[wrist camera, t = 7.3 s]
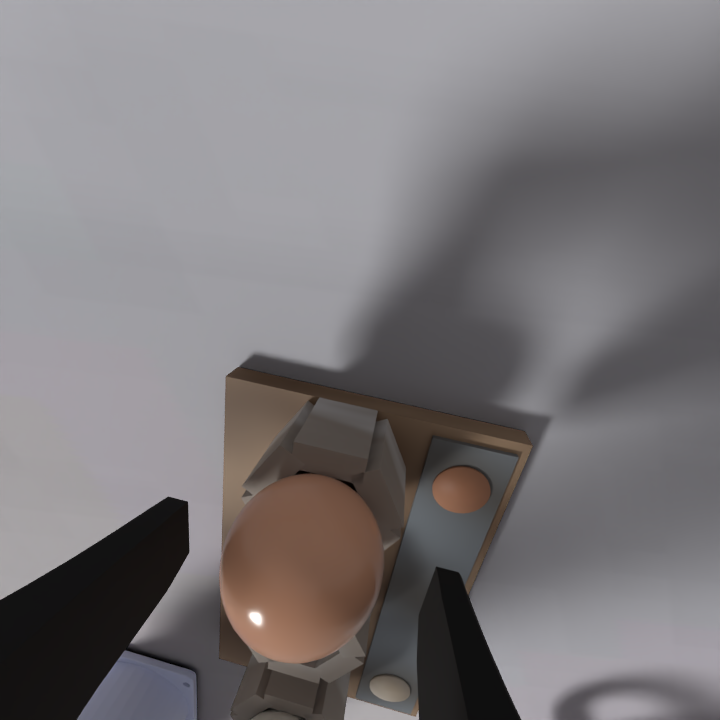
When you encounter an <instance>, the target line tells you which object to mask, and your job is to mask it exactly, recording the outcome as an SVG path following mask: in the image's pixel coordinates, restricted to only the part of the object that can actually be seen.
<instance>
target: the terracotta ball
mask: <svg viewBox="0 0 720 720" xmlns="http://www.w3.org/2000/svg"><path fill="white" fill-rule="evenodd" d="M383 573H384V548H383V542H382V536H381V533H380V530H379V527H378V524H377V521H376V519H375V517H374V515H373V513H372V511H371V510H370V508H369V506H368V505H367V504H366V502H365V501H364V500H363V499H362V498H361V497H360V496H359V494H358V493H357V492H355V491H354V490H353V489H352V488H350V487H349V486H348V485H346V484H344V483H342V482H341V481H339V480H336V479H334V478H331V477H328V476H324V475H319V474H298V475H293V476H289V477H286V478H282V479H280V480H278V481H276V482H274V483H272V484H270V485H268V486H267V487H265V488H264V489H262V490H261V491H260V492H258V493H257V494H256V495H255V496H254V497H253V498H252V499H251V500H250V501H249V502H248V503H247V504H246V505H245V506H244V507H243V509H242V510H241V511H240V513H239V514H238V516H237V517H236V519H235V521H234V522H233V524H232V526H231V528H230V530H229V532H228V535H227V538H226V540H225V543H224V547H223V550H222V555H221V560H220V571H219V583H220V593H221V598H222V602H223V606H224V609H225V612H226V615H227V617H228V619H229V621H230V623H231V625H232V627H233V629H234V630H235V632H236V633H237V634H238V635H239V637H240V638H241V639H242V640H243V641H244V642H245V643H246V644H247V645H248V646H249V647H250V648H251V649H253V650H254V651H255V652H257V653H259V654H261V655H262V656H264V657H267V658H269V659H271V660H275V661H278V662H283V663H292V664H300V663H307V662H311V661H315V660H319V659H322V658H324V657H326V656H328V655H330V654H332V653H334V652H336V651H338V650H339V649H340V648H341V647H343V646H344V645H345V644H347V643H348V642H349V641H350V640H351V639H352V638H353V637H354V636H355V635H356V634H357V633H358V632H359V630H360V629H361V628H362V627H363V625H364V624H365V622H366V621H367V619H368V617H369V616H370V614H371V613H372V610H373V608H374V606H375V604H376V601H377V599H378V596H379V593H380V589H381V585H382V580H383Z"/></svg>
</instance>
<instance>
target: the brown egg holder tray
mask: <svg viewBox="0 0 720 720" xmlns="http://www.w3.org/2000/svg"><path fill="white" fill-rule="evenodd" d="M532 447H533V445H532V443H531V442H530V440H529V438H528V436H527V434H526V433H525V431H521V430H517V429H513V428H508V427H504V426H499V425H495V424H490V423H486V422H481V421H477V420H472V419H468V418H463V417H459V416H454V415H450V414H446V413H441V412H437V411H432V410H428V409H423V408H419V407H414V406H410V405H405V404H401V403H396V402H392V401H387V400H383V399H379V398H374V397H370V396H365V395H361V394H356V393H352V392H347V391H343V390H338V389H334V388H329V387H325V386H320V385H316V384H311V383H307V382H303V381H298V380H294V379H289V378H285V377H280V376H276V375H271V374H267V373H262V372H258V371H253V370H249V369H244V368H240V367H237V368H236V369H235V370H233V371H232V372H231V373H230V374H228V375H227V376H226V391H225V433H224V476H223V518H222V550H223V547H224V543H225V540H226V538H227V535H228V532H229V530H230V528H231V526H232V524H233V522H234V521H235V519H236V517H237V516H238V514H239V513H240V511H241V510H242V509H243V507H244V506H245V505H246V504H247V503H248V502H249V501H250V500H251V499H252V498H253V497H254V496H255V495H256V494H257V493H258V492H260V491H261V490H262V489H264V488H265V487H267V486H268V485H270V484H272V483H274V482H276V481H278V480H280V479H282V478H286V477H289V476H293V475H298V474H319V475H324V476H328V477H331V478H334V479H336V480H339V481H341V482H342V483H344V484H346V485H348V486H349V487H350V488H352V489H353V490H354V491H355V492H357V493H358V494H359V496H360V497H361V498H362V499H363V500H364V501H365V502H366V504H367V505H368V506H369V508H370V510H371V511H372V513H373V515H374V517H375V519H376V521H377V524H378V527H379V530H380V533H381V536H382V542H383V548H384V573H383V580H382V585H381V589H380V593H379V596H378V599H377V601H376V604H375V606H374V608H373V610H372V613H371V614H370V616H369V617H368V619H367V621H366V622H365V624H364V625H363V627H362V628H361V629H360V630H359V632H358V633H357V634H356V635H355V636H354V637H353V638H352V639H351V640H350V641H349V642H348V643H347V644H345V645H344V646H343V647H341V648H340V649H339V650H338V651H336V652H334V653H332V654H330V655H328V656H326V657H324V658H322V659H319V660H315V661H311V662H307V663H300V664H292V663H283V662H278V661H275V660H271V659H269V658H267V657H264V656H262V655H261V654H259V653H257V652H255V651H254V650H253V649H251V648H250V647H249V646H248V645H247V644H246V643H245V642H244V641H243V640H242V639H241V638H240V637H239V635H238V634H237V633H236V632H235V630H234V629H233V627H232V625H231V623H230V621H229V619H228V617H227V615H226V612H225V609H224V606H223V602H222V598H221V602H220V645H219V659H223V660H226V661H229V662H233V663H236V664H239V665H243V666H246V667H247V669H246V671H245V674H244V677H243V679H242V682H241V684H240V687H239V690H238V692H237V695H236V697H235V700H234V703H233V705H232V708H231V711H232V712H231V715H230V716H231V717H232V718H233V720H251V719H252V718H253V717H255V716H256V715H257V714H259V713H261V712H263V711H265V710H268V709H271V708H273V709H276V710H279V711H283V712H286V713H289V714H292V715H296V716H299V717H302V718H304V719H305V720H344V714H345V707H346V700H347V697H351V698H354V699H357V700H361V701H364V702H368V703H371V704H374V705H378V706H381V707H384V708H388V709H391V710H394V711H398V712H401V713H405V714H408V715H411V716H415V717H416V714H417V712H418V710H419V705H418V683H417V638H418V617H419V612H420V609H421V607H422V604H423V601H424V598H425V596H426V593H427V590H428V587H429V585H430V582H431V579H432V576H433V574H434V571H435V568H436V566H437V567H441V568H444V569H448V570H452V571H456V572H459V573H460V575H461V577H462V579H463V582H464V585H465V588H466V591H467V593H468V594H469V592H470V590H471V588H472V585H473V583H474V581H475V578H476V576H477V574H478V571H479V569H480V567H481V564H482V562H483V560H484V558H485V555H486V553H487V551H488V548H489V546H490V544H491V541H492V539H493V537H494V534H495V532H496V530H497V528H498V525H499V523H500V521H501V518H502V516H503V514H504V511H505V509H506V507H507V505H508V502H509V500H510V498H511V495H512V493H513V491H514V488H515V486H516V484H517V481H518V479H519V477H520V475H521V472H522V470H523V468H524V465H525V463H526V461H527V458H528V456H529V454H530V452H531V449H532Z"/></svg>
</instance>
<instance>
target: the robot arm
mask: <svg viewBox="0 0 720 720" xmlns="http://www.w3.org/2000/svg"><path fill="white" fill-rule="evenodd" d="M188 554H189V522H188V502H187V501H183V500H179V499H175V498H171V497H167V498H165V499H164V500H162V501H161V502H159V503H158V504H156V505H154V506H153V507H151V508H150V509H148V510H147V511H145V512H144V513H142V514H141V515H139V516H138V517H136V518H135V519H133V520H131V521H130V522H128V523H127V524H125V525H124V526H122V527H121V528H119V529H118V530H116V531H115V532H113V533H111V534H110V535H108V536H107V537H105V538H104V539H102V540H100V541H99V542H97V543H96V544H94V545H92V546H91V547H89V548H88V549H86V550H85V551H83V552H81V553H80V554H78V555H77V556H75V557H73V558H72V559H70V560H68V561H67V562H65V563H63V564H62V565H60V566H58V567H57V568H55V569H53V570H52V571H50V572H48V573H46V574H45V575H43V576H41V577H40V578H38V579H36V580H35V581H33V582H31V583H30V584H28V585H26V586H24V587H23V588H21V589H19V590H17V591H16V592H14V593H12V594H10V595H8V596H7V597H5V598H3V599H1V600H0V720H197V683H196V674H195V672H193V671H192V670H189V669H186V668H183V667H179V666H176V665H173V664H169V663H166V662H163V661H159V660H156V659H153V658H149V657H146V656H143V655H140V654H136V653H133V652H130V651H126V650H125V649H126V648H127V646H128V645H129V644H130V642H131V641H132V639H133V638H134V637H135V635H136V634H137V633H138V631H139V630H140V628H141V627H142V626H143V624H144V623H145V621H146V620H147V619H148V617H149V616H150V614H151V613H152V611H153V610H154V609H155V607H156V606H157V604H158V603H159V602H160V600H161V599H162V597H163V596H164V594H165V593H166V592H167V590H168V588H169V587H170V585H171V583H172V582H173V580H174V578H175V577H176V575H177V573H178V571H179V570H180V568H181V566H182V564H183V562H184V561H185V559H186V557H187V555H188ZM417 683H418V705H419V720H521V718H520V716H519V714H518V712H517V710H516V708H515V706H514V704H513V701H512V699H511V697H510V695H509V693H508V691H507V688H506V686H505V684H504V682H503V679H502V677H501V675H500V672H499V670H498V668H497V666H496V663H495V661H494V659H493V656H492V654H491V652H490V649H489V647H488V645H487V642H486V640H485V637H484V635H483V632H482V630H481V627H480V625H479V622H478V620H477V617H476V615H475V612H474V609H473V607H472V604H471V602H470V599H469V596H468V593H467V591H466V588H465V585H464V582H463V579H462V577H461V575H460V573H459V572H456V571H452V570H448V569H444V568H441V567H437V566H436V568H435V571H434V574H433V576H432V579H431V582H430V585H429V587H428V590H427V593H426V596H425V598H424V601H423V604H422V607H421V609H420V612H419V617H418V638H417Z"/></svg>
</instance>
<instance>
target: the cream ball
mask: <svg viewBox="0 0 720 720" xmlns="http://www.w3.org/2000/svg"><path fill="white" fill-rule="evenodd" d="M251 720H305V719H304V718H302V717H299V716H296V715H292V714H289V713H286V712H283V711H279V710H276V709H273V708H271V709H268V710H265V711H263V712H261V713H259V714H257V715H256V716H255V717H253V718H252V719H251Z"/></svg>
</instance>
